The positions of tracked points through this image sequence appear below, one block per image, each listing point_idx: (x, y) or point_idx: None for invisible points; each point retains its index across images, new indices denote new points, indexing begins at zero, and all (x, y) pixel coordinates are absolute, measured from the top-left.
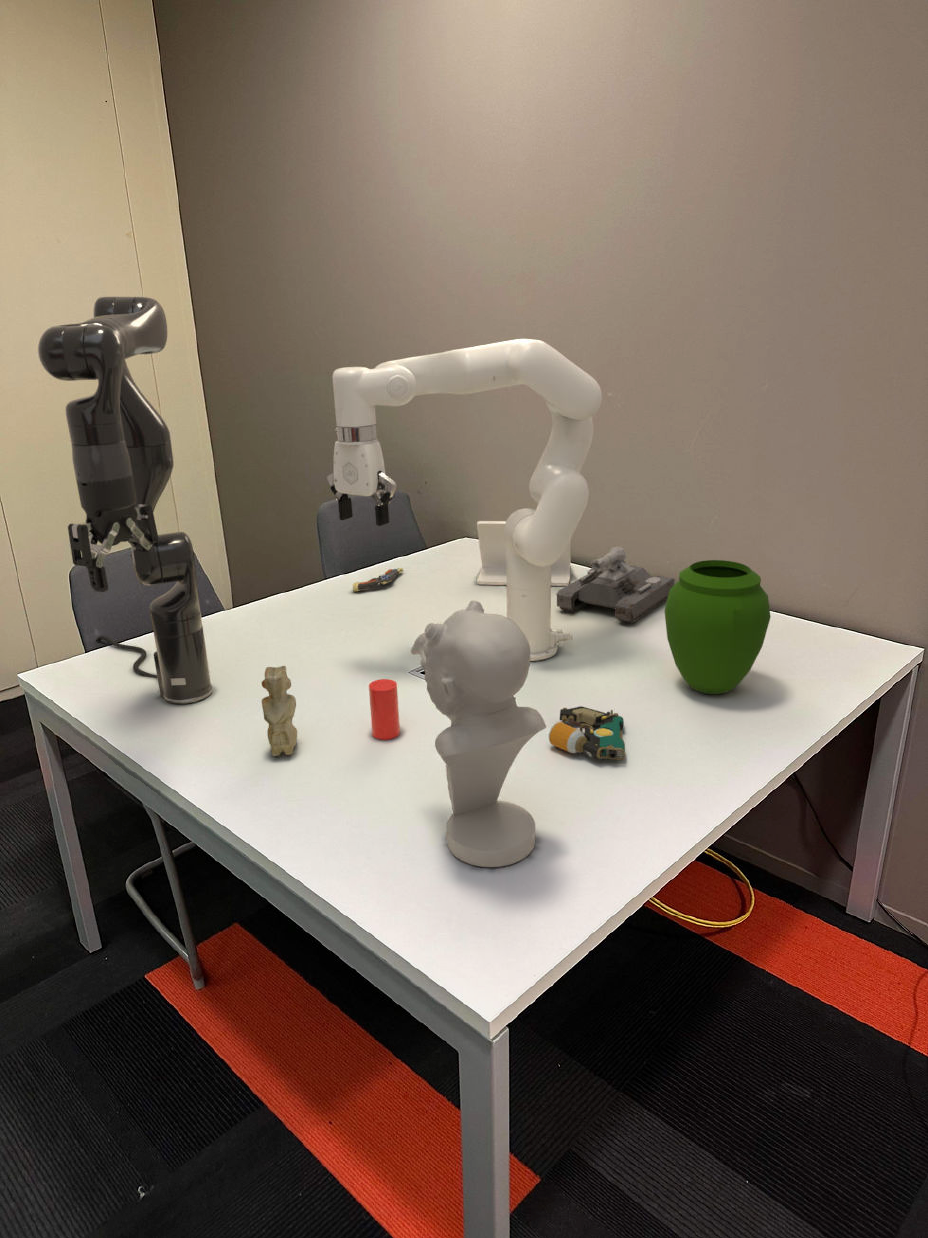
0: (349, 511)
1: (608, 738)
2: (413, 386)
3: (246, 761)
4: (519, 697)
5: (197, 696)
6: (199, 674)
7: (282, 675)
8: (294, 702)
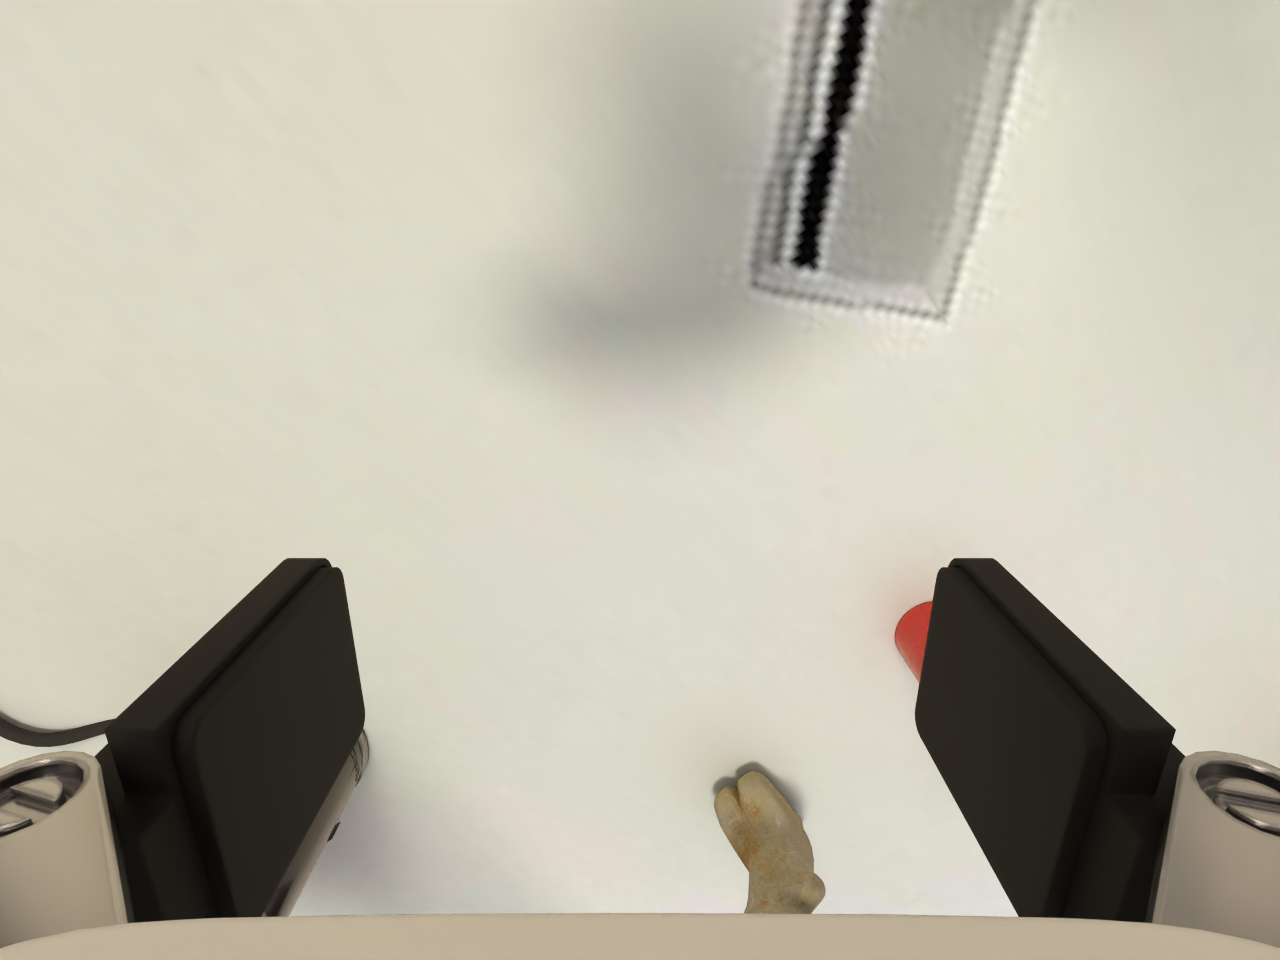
0: (312, 656)
1: None
2: None
3: (719, 861)
4: (1211, 243)
5: (362, 767)
6: (336, 801)
7: None
8: (820, 894)
